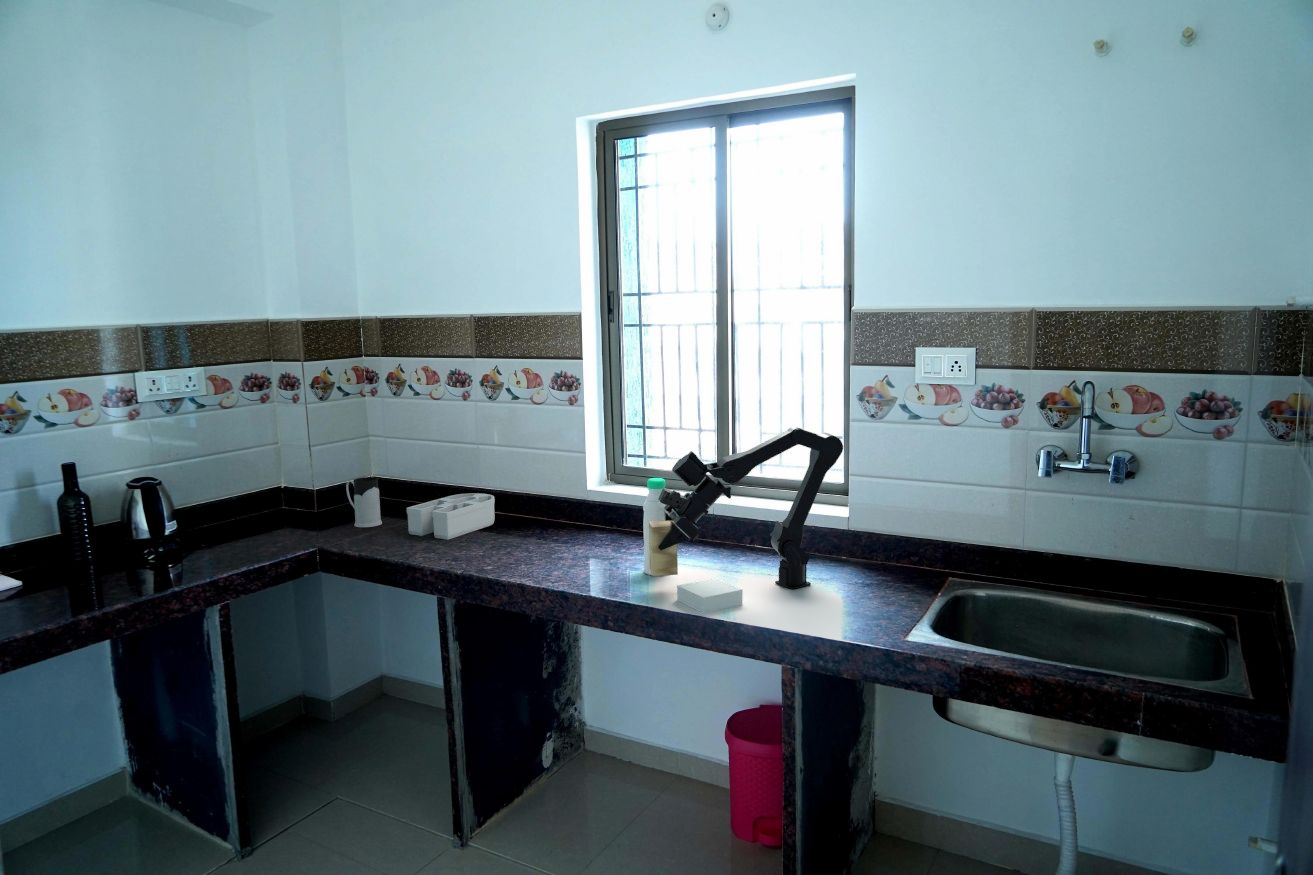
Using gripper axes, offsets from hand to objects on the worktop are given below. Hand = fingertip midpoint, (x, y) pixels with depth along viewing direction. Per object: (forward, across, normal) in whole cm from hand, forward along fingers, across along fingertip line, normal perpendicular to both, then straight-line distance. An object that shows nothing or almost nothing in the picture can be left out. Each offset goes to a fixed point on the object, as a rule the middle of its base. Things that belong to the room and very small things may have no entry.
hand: (657, 545), depth 214 cm
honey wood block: (+4, 0, +6) cm, 7 cm away
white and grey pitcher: (+69, -89, -52) cm, 124 cm away
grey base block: (+1, +10, +16) cm, 19 cm away
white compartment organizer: (+46, -77, -30) cm, 95 cm away
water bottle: (+7, -16, +10) cm, 20 cm away
